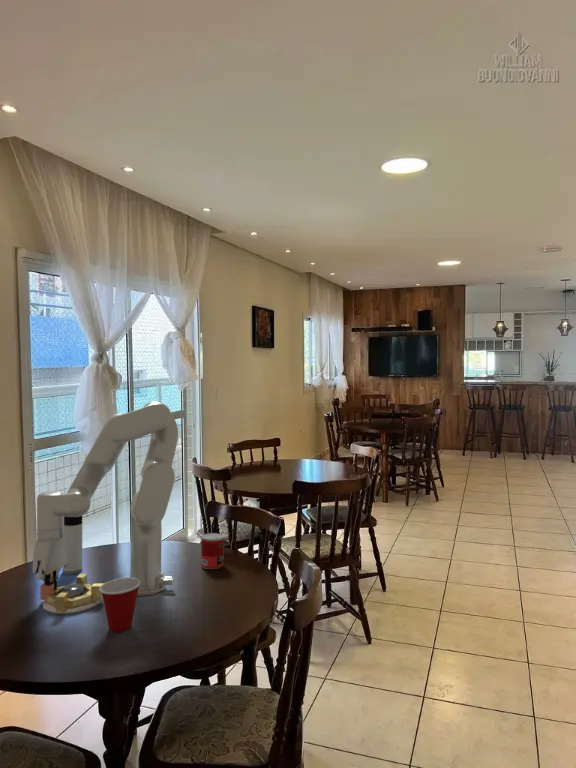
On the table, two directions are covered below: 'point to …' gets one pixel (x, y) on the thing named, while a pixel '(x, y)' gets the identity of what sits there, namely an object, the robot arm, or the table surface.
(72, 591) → the flange
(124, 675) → the table surface
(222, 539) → the canned food
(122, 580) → the plastic cup
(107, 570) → the table surface
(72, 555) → the travel mug
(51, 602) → the locking ring
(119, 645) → the table surface
